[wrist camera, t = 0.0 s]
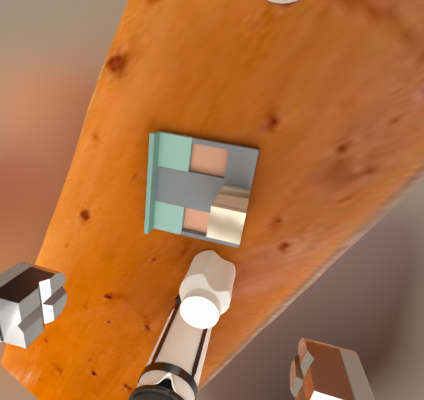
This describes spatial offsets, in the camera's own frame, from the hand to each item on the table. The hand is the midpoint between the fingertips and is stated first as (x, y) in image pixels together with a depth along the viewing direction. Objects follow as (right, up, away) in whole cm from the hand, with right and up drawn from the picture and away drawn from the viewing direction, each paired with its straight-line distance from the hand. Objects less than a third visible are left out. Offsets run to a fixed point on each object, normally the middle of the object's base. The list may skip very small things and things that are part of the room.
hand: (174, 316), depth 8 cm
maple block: (+6, +4, +47) cm, 48 cm away
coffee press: (-4, -30, +64) cm, 71 cm away
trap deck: (-1, +6, +50) cm, 50 cm away
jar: (+2, -14, +57) cm, 59 cm away
